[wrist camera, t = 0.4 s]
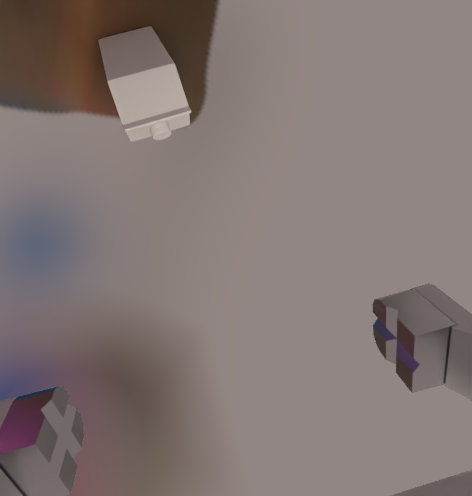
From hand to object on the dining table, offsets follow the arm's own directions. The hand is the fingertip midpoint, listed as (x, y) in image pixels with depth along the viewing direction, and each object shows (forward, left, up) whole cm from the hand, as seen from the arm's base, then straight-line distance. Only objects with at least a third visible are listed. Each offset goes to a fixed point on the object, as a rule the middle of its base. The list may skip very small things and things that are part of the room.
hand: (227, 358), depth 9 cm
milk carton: (+8, -4, -51) cm, 51 cm away
